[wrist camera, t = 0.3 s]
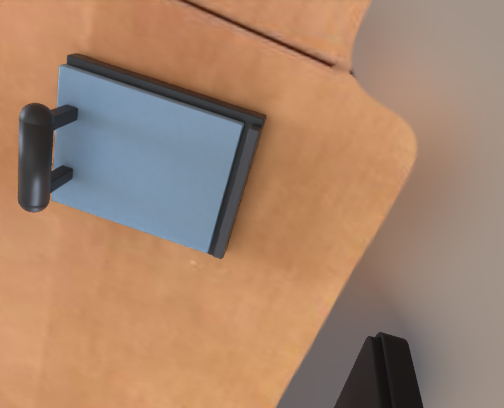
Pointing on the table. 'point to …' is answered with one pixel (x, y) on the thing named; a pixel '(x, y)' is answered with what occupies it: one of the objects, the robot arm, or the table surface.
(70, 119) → the handled blue panel
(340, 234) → the table surface
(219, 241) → the dark rectangular box base
